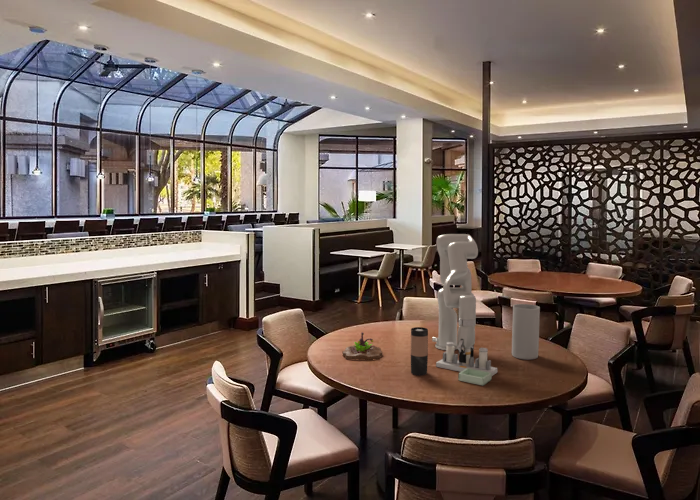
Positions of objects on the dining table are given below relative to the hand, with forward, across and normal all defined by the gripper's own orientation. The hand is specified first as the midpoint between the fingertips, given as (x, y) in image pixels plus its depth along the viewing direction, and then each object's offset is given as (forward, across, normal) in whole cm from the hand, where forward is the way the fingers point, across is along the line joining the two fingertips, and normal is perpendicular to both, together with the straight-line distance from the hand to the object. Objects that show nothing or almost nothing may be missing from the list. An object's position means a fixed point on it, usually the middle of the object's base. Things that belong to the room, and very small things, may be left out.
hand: (466, 360), depth 242 cm
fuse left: (+2, 0, -8) cm, 8 cm away
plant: (+5, +8, -52) cm, 53 cm away
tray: (+4, +11, +9) cm, 15 cm away
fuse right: (+2, 0, +8) cm, 8 cm away
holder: (+4, 0, 0) cm, 4 cm away
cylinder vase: (+5, -36, +15) cm, 39 cm away
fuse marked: (+2, 0, 0) cm, 2 cm away
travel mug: (+5, +17, -15) cm, 23 cm away
